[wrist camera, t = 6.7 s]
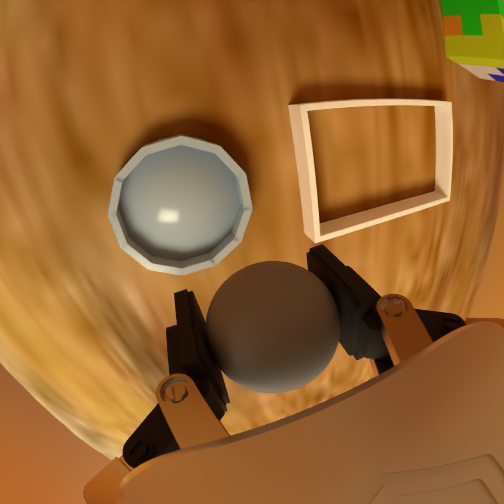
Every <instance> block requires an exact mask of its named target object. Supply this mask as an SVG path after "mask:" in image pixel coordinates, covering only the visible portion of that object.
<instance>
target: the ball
mask: <svg viewBox="0 0 504 504" xmlns="http://www.w3.org/2000/svg"><path fill="white" fill-rule="evenodd" d="M339 335H340V317H339V312H338V309H337V305H336V302H335V300H334V298H333V296H332V294H331V292H330V291H329V290H328V288H327V287H326V286H325V284H324V283H323V282H322V281H321V280H320V279H319V278H318V277H317V276H315V275H314V274H313V273H311V272H310V271H308V270H306V269H305V268H303V267H300V266H297V265H295V264H292V263H288V262H280V261H266V262H260V263H256V264H252V265H250V266H247V267H245V268H243V269H241V270H239V271H237V272H236V273H234V274H233V275H232V276H230V277H229V278H228V279H227V280H226V281H225V282H224V283H223V284H222V285H221V286H220V288H219V289H218V291H217V292H216V294H215V295H214V297H213V299H212V301H211V304H210V306H209V310H208V313H207V318H206V336H207V342H208V346H209V349H210V351H211V354H212V356H213V358H214V360H215V362H216V363H217V365H218V366H219V368H220V369H221V370H222V371H223V372H224V373H225V374H226V375H227V376H228V377H229V378H230V379H232V380H233V381H234V382H236V383H237V384H239V385H241V386H243V387H245V388H247V389H250V390H254V391H257V392H262V393H282V392H288V391H292V390H295V389H298V388H300V387H302V386H304V385H306V384H308V383H309V382H311V381H312V380H314V379H315V378H316V377H317V376H318V375H319V374H320V373H321V372H322V371H323V370H324V369H325V368H326V367H327V365H328V364H329V362H330V361H331V359H332V357H333V355H334V353H335V351H336V348H337V345H338V341H339Z"/></svg>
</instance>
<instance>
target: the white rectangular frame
mask: <svg viewBox="0 0 504 504" xmlns="http://www.w3.org/2000/svg"><path fill="white" fill-rule="evenodd" d="M377 105H428V106H435V121H436V174H435V191H433V192H430V193H426V194H422V195H419V196H415V197H412V198H408V199H405V200H401V201H397V202H394V203H390V204H387V205H383V206H380V207H376V208H372V209H369V210H365V211H362V212H358V213H355V214H351V215H348V216H344V217H341V218H337V219H334V220H330V221H327V222H323V223H320V224H319V211H318V199H317V189H316V178H315V169H314V160H313V151H312V143H311V135H310V128H309V120H308V114H307V111H310V110H319V109H330V108H341V107H356V106H377ZM288 108H289V115H290V121H291V127H292V134H293V141H294V148H295V155H296V163H297V170H298V178H299V186H300V195H301V204H302V213H303V222H304V232H305V234H306V235H307V236H308V237H309V238H310V239H311V240H312V241H313V242H314V243H318V242H321V241H324V240H327V239H331V238H334V237H337V236H340V235H343V234H347V233H350V232H353V231H356V230H359V229H363V228H366V227H369V226H372V225H375V224H378V223H381V222H385V221H388V220H391V219H394V218H397V217H400V216H403V215H407V214H410V213H413V212H416V211H419V210H422V209H425V208H428V207H431V206H434V205H437V204H441V203H444V202H447V201H450V191H451V177H452V154H453V126H452V103H451V102H447V101H440V100H428V99H401V98H375V99H348V100H332V101H320V102H310V103H301V104H292V105H288Z"/></svg>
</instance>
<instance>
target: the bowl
mask: <svg viewBox="0 0 504 504" xmlns="http://www.w3.org/2000/svg"><path fill="white" fill-rule="evenodd" d="M252 210H253V208H252V202H251V197H250V192H249V187H248V181H247V176H246V173H245V172H244V171H243V170H242V169H241V168H240V167H239V166H238V164H237V163H236V162H235V161H234V160H233V159H232V158H231V157H230V156H229V155H228V154H227V153H226V152H225V150H224V149H223V148H222V147H221V146H219V145H218V144H216V143H213V142H209V141H206V140H203V139H200V138H196V137H191V136H187V135H183V134H179V135H175V136H171V137H167V138H163V139H160V140H157V141H154V142H151V143H148V144H145V145H143V147H142V148H141V149H140V150H139V151H138V152H137V153H136V154H135V155H134V156H133V157H132V158H131V159H130V160H129V161H128V162H127V164H126V165H125V166H124V167H123V168H122V169H121V171H120V172H119V173H118V174H117V175H116V176H115V178H114V183H113V188H112V194H111V199H110V205H109V211H108V217H109V219H110V222H111V225H112V227H113V230H114V232H115V235H116V237H117V240H118V242H119V245H120V247H121V249H123V250H124V251H125V252H126V253H128V254H129V255H130V256H131V257H133V258H134V259H135V260H136V261H138V262H139V263H140V264H142V265H143V266H144V267H146V268H147V269H148V270H153V271H159V272H165V273H171V274H176V275H186V274H189V273H192V272H196V271H199V270H202V269H206V268H209V267H212V266H216V265H217V264H218V263H219V262H220V261H221V260H222V259H223V258H224V257H225V256H226V255H227V254H229V253H230V252H231V251H232V250H233V249H234V248H235V247H236V246H237V245H238V244H239V243H240V242H241V241H242V238H243V235H244V232H245V229H246V227H247V224H248V221H249V218H250V215H251V212H252Z"/></svg>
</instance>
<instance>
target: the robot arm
mask: <svg viewBox="0 0 504 504" xmlns="http://www.w3.org/2000/svg"><path fill="white" fill-rule="evenodd" d="M307 264H308V271H310V272H311V273H313V274H314V275H315V276H317V277H318V278H319V279H320V280H321V281H322V282H323V283H324V284H325V286H326V287H327V288H328V290H329V291H330V292H331V294H332V296H333V298H334V300H335V302H336V305H337V309H338V312H339V317H340V335H339V342H340V344H341V345H342V346H343V348H344V349H345V351H346V352H347V353H348V355H350V356H351V355H353V356H354V357H355V358H356V360H359V359H361V358H363V357H365V358H369V359H370V362H371V365H372V368H373V371H374V374H375V377H374V378H372V379H370V380H368V381H367V382H365V383H363V384H361V385H359V386H357V387H355V388H353V389H351V390H349V391H347V392H344V393H342V394H340V395H338V396H336V397H334V398H332V399H329V400H327V401H325V402H323V403H320V404H318V405H316V406H313V407H311V408H309V409H306V410H304V411H301V412H299V413H296V414H294V415H291V416H288V417H286V418H283V419H280V420H278V421H275V422H272V423H269V424H266V425H264V426H261V427H258V428H255V429H251V430H248V431H245V432H242V433H238V434H235V435H232V436H230V435H229V433H228V432H227V430H226V429H225V427H224V426H223V424H222V423H221V421H220V420H221V419H222V417H223V416H224V414H225V413H224V412H226V411H227V408H226V404H227V403H230V400H229V397H228V393H227V390H226V386H225V383H224V379H223V376H222V372H221V369H220V368H219V366H218V365H217V363H216V362H215V360H214V358H213V356H212V354H211V351H210V349H209V346H208V342H207V336H206V322H205V319H204V317H203V315H202V312H201V310H200V307H199V305H198V303H197V300H196V298H195V295H194V293H193V291H190V292H188V291H187V289H185V290H182V291H179V292H176V293H174V299H175V310H176V320H177V325H174V326H171V327H167V328H166V338H167V351H168V363H169V373H170V376H167V377H166V378H164V379H163V380H162V381H161V382H160V383H159V385H158V387H157V389H156V398H157V401H158V404H157V405H156V406H155V408H154V409H153V410H152V411H151V412H150V414H149V415H148V416H147V417H146V418H145V420H144V421H143V422H142V423H141V424H140V426H139V427H138V428H137V429H136V430H135V432H134V433H133V434H132V435H131V436H130V437H129V439H128V440H127V441H126V443H125V444H124V447H123V455H122V456H121V457H120V458H118V457H115V458H114V459H113V460H112V461H111V462H110V463H109V464H108V465H107V466H106V467H105V468H104V469H102V470H101V471H100V472H99V473H98V474H97V475H96V476H95V477H94V478H93V479H91V480H90V481H89V482H88V483H87V484H86V486H85V487H84V491H83V495H84V499H85V501H86V503H87V504H504V319H501V318H466V319H465V321H464V320H463V319H462V318H461V317H459V316H457V315H456V314H452V313H444V312H436V311H428V310H420V309H414V307H413V306H412V304H411V302H410V301H409V300H408V299H407V298H406V297H404V296H402V295H399V294H388V295H385V296H383V297H381V296H380V295H379V294H378V293H377V292H376V291H375V290H374V289H373V288H372V287H371V286H370V285H369V284H368V283H367V282H366V281H364V280H363V279H362V278H361V277H360V276H359V275H358V274H357V273H356V272H355V271H354V270H353V269H352V268H351V267H349V266H345V265H344V264H343V263H342V262H341V261H340V260H339V259H338V258H337V257H336V256H335V255H333V254H332V253H331V252H330V251H329V250H328V249H327V248H326V247H325V246H324V245H322V244H321V245H318V246H315V247H312V248H310V250H309V252H308V253H307Z"/></svg>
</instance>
